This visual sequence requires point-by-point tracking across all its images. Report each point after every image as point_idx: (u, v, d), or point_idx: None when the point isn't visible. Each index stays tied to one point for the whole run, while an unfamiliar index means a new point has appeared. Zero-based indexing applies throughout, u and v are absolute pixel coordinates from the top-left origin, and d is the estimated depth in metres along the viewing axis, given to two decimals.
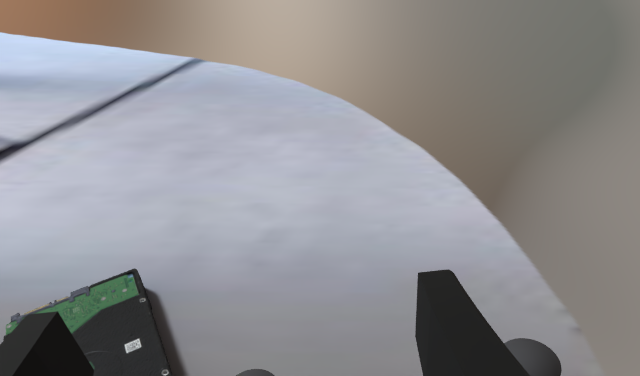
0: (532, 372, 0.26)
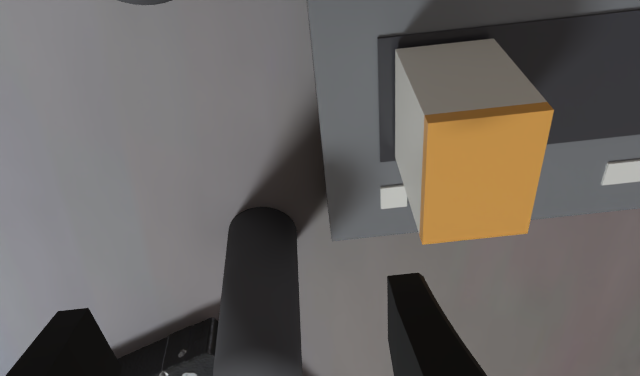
0: None
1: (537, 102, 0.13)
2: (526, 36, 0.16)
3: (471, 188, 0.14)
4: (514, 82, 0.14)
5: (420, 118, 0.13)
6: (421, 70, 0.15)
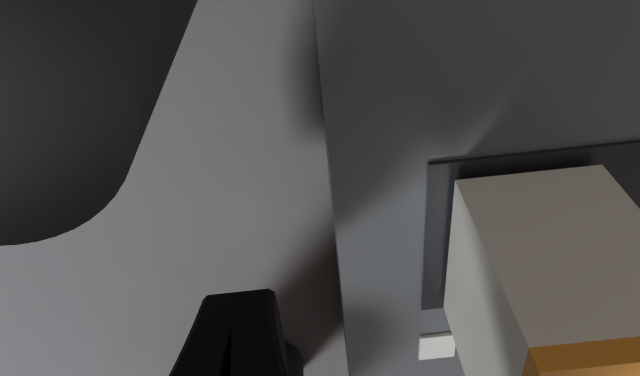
0: (11, 98, 0.04)
1: None
2: None
3: None
4: None
5: (516, 338, 0.08)
6: (502, 230, 0.09)
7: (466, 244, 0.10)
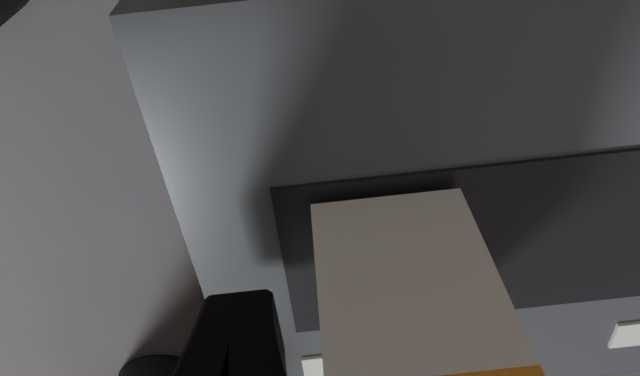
0: None
1: (523, 365, 0.07)
2: (497, 182, 0.11)
3: None
4: (485, 305, 0.08)
5: None
6: (339, 258, 0.09)
7: None
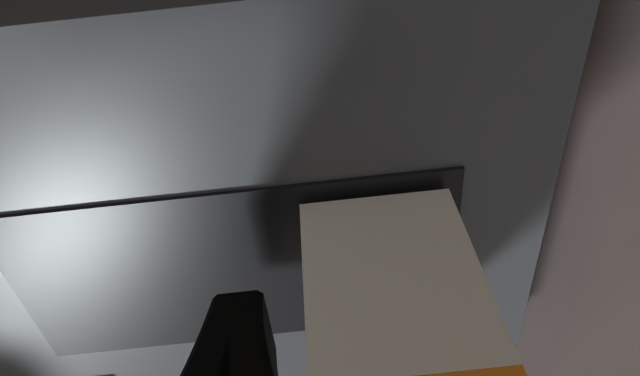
0: None
1: (505, 365, 0.07)
2: (202, 212, 0.11)
3: None
4: (470, 304, 0.08)
5: None
6: (326, 258, 0.09)
7: None
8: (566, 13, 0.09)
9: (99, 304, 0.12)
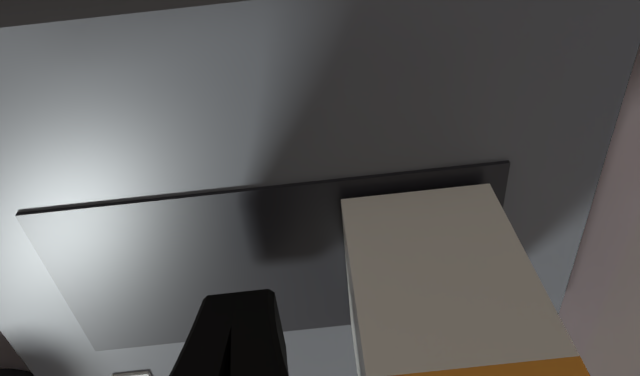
0: None
1: (562, 357, 0.07)
2: (248, 207, 0.11)
3: None
4: (522, 298, 0.08)
5: (363, 367, 0.08)
6: (373, 252, 0.09)
7: (348, 265, 0.10)
8: (620, 7, 0.09)
9: (140, 299, 0.12)
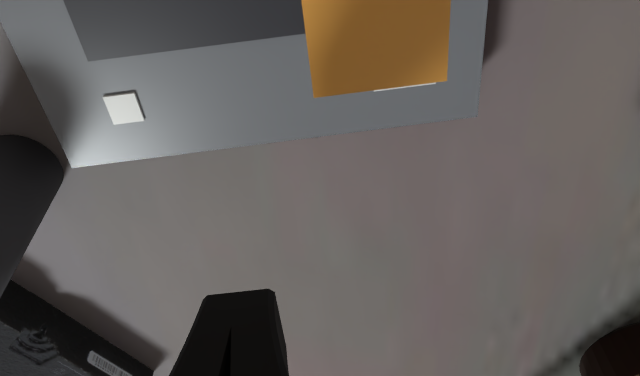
0: None
1: None
2: None
3: (363, 8, 0.11)
4: None
5: None
6: None
7: None
8: None
9: None
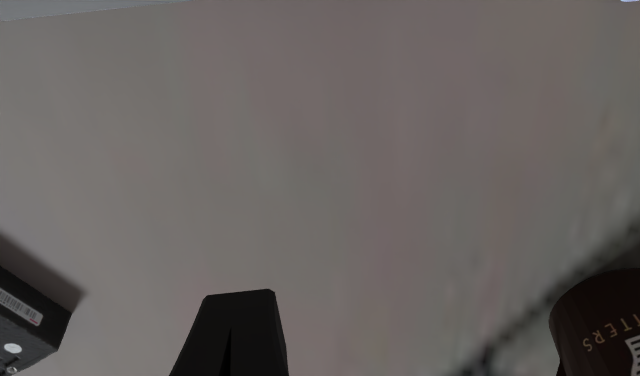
0: None
1: None
2: None
3: None
4: None
5: None
6: None
7: None
8: None
9: None
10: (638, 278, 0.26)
